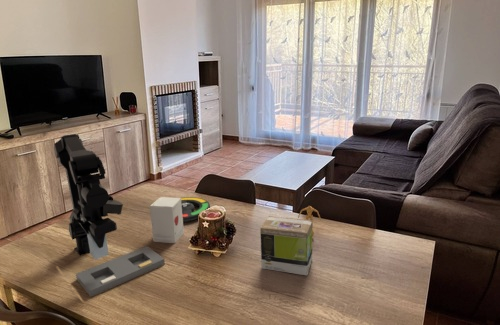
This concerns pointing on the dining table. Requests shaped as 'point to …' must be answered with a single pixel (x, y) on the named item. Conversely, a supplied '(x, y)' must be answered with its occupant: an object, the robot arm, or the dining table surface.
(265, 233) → the tea box
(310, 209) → the figurine
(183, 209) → the electronic game
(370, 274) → the dining table surface
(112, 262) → the panel
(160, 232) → the supplement box
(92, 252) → the plug
